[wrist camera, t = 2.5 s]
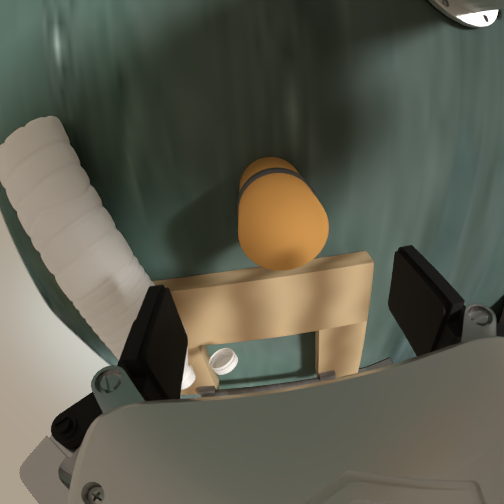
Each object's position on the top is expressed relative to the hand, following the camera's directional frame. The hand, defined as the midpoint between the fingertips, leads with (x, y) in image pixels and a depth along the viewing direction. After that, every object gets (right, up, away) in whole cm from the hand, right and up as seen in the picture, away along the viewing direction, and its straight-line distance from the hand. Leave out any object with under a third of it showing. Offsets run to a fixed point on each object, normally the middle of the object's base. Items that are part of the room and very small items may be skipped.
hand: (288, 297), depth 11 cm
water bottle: (-18, +11, +4) cm, 21 cm away
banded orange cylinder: (0, +7, +11) cm, 13 cm away
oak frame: (-1, -7, +18) cm, 19 cm away
